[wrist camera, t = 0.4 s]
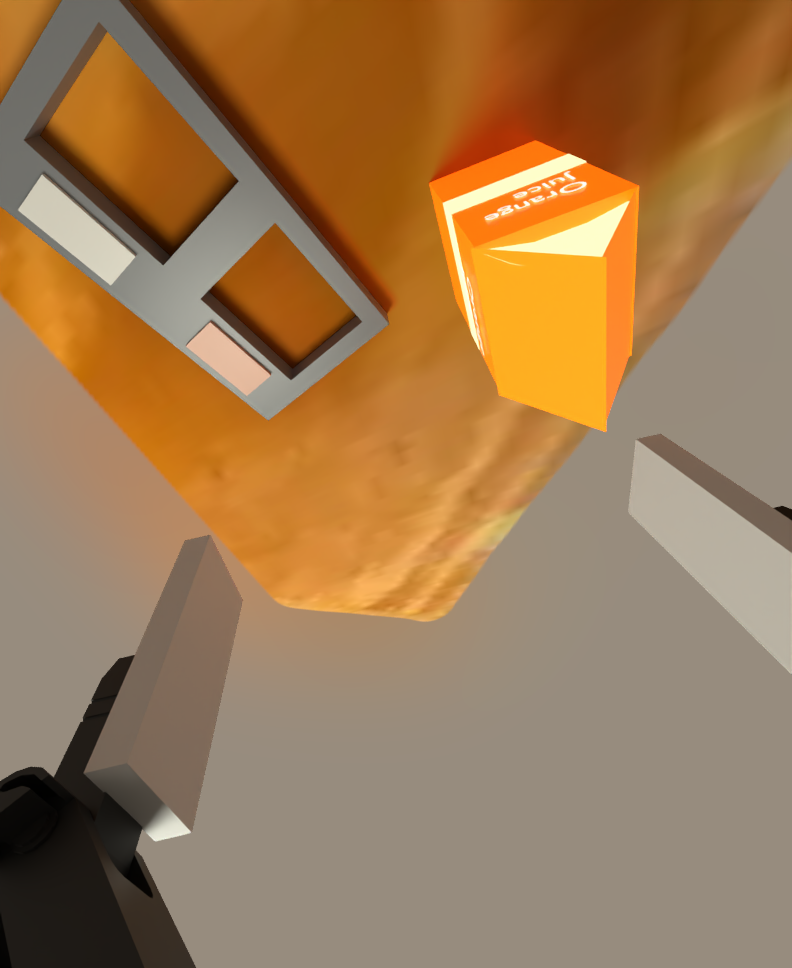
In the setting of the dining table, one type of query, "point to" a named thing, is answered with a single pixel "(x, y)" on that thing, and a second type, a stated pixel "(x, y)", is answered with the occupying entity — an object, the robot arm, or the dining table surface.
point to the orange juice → (544, 275)
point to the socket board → (130, 251)
